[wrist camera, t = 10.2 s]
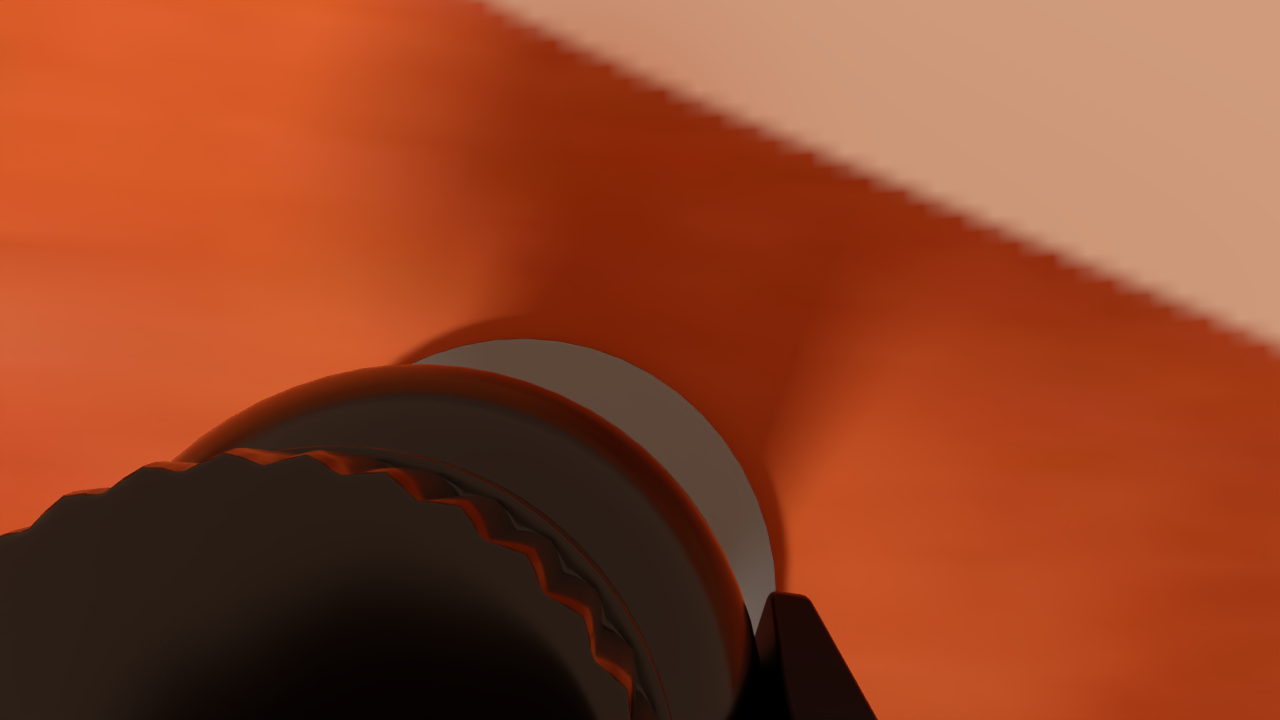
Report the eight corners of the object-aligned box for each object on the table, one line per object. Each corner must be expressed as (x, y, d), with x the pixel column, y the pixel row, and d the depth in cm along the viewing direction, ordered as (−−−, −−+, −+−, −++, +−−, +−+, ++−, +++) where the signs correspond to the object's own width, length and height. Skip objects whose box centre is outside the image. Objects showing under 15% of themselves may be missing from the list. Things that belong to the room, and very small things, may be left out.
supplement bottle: (468, 356, 17) (119, 39, 5) (767, 547, 17) (1129, 675, 5) (258, 666, 16) (-751, 1142, 4) (570, 878, 16) (407, 2069, 4)
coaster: (652, 945, 17) (653, 962, 16) (178, 728, 17) (163, 737, 16) (844, 460, 18) (852, 458, 17) (403, 268, 18) (396, 261, 18)
